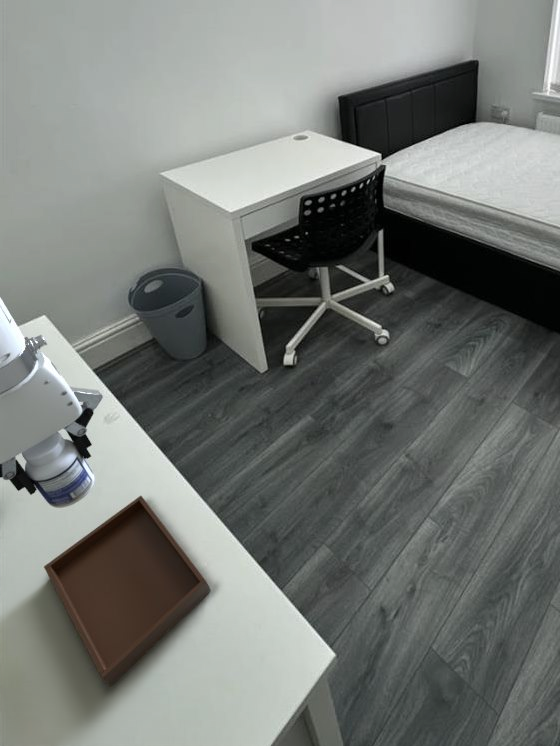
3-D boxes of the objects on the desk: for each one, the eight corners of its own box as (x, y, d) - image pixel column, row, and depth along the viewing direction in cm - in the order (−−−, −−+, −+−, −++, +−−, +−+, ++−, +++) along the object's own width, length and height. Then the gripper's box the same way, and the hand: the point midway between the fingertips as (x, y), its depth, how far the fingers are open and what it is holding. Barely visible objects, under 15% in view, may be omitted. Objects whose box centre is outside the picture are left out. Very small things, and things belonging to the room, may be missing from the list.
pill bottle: (50, 480, 64) (18, 435, 59) (96, 464, 67) (69, 419, 61) (44, 516, 60) (10, 471, 55) (94, 498, 63) (65, 452, 57)
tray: (51, 576, 68) (43, 566, 66) (146, 504, 76) (141, 495, 75) (110, 686, 58) (102, 678, 56) (211, 590, 66) (206, 581, 65)
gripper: (66, 314, 59) (116, 411, 69) (-128, 400, 47) (-35, 501, 57) (91, 341, 55) (140, 439, 65) (-113, 442, 44) (-17, 543, 53)
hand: (57, 467), depth 61 cm, fingers closed on pill bottle, 5 cm apart
